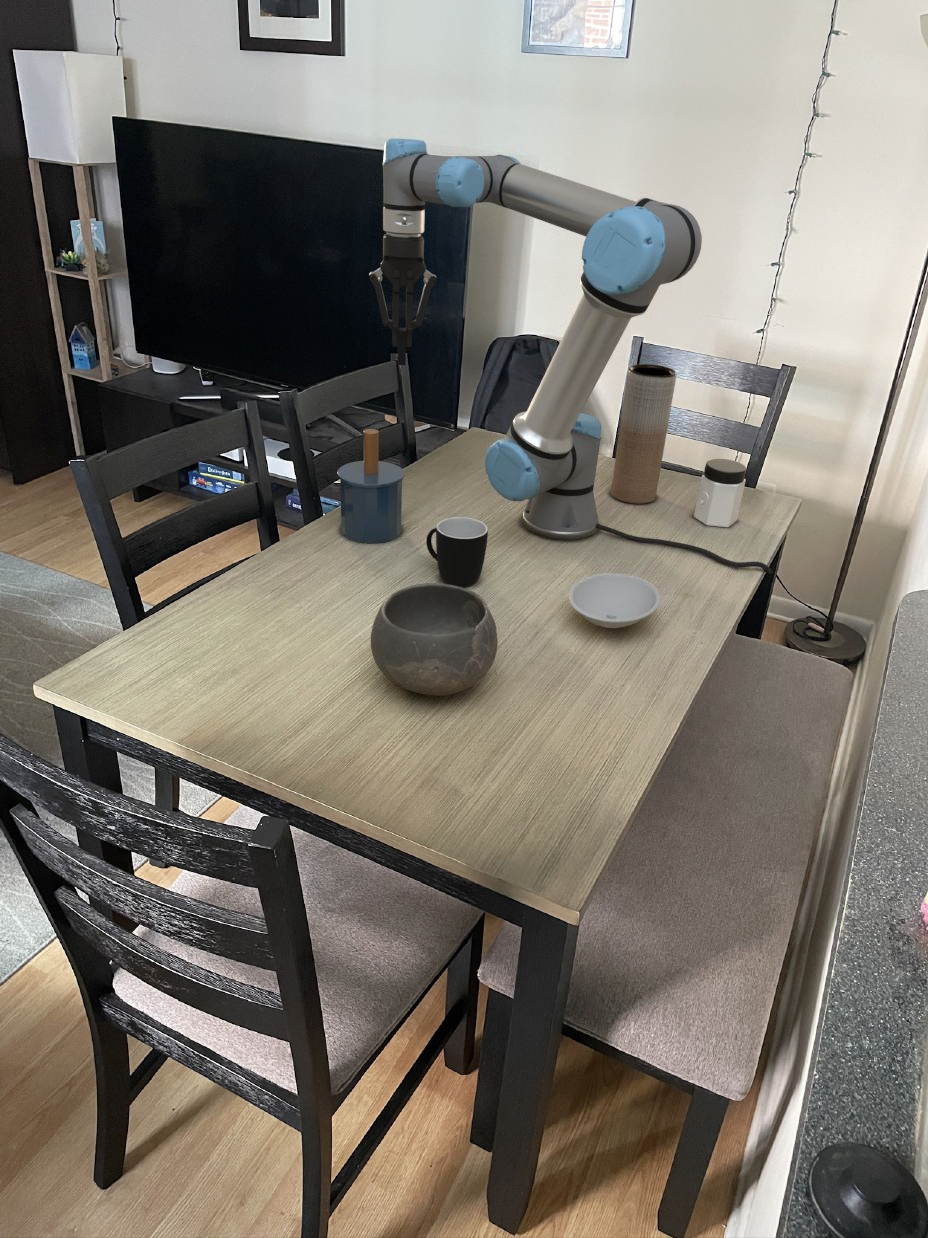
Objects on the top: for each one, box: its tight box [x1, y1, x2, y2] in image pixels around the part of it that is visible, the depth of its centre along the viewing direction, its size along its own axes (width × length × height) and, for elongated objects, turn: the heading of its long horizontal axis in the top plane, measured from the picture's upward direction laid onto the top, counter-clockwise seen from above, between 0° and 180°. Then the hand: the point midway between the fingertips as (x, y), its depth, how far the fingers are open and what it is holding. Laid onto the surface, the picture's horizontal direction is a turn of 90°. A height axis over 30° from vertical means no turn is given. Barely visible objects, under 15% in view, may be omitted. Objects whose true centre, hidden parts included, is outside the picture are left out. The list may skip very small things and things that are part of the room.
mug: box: [425, 516, 489, 588], centre depth 157 cm, size 12×9×10 cm
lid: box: [337, 428, 405, 488], centre depth 167 cm, size 13×13×9 cm
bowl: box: [370, 582, 499, 696], centre depth 127 cm, size 18×18×13 cm
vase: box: [610, 363, 678, 505], centre depth 190 cm, size 10×10×28 cm
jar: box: [693, 458, 747, 528], centre depth 185 cm, size 9×8×12 cm
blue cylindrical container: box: [339, 479, 403, 544], centre depth 172 cm, size 12×12×12 cm
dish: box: [567, 572, 661, 629], centre depth 147 cm, size 18×14×5 cm
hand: (401, 363), depth 176 cm, fingers closed
